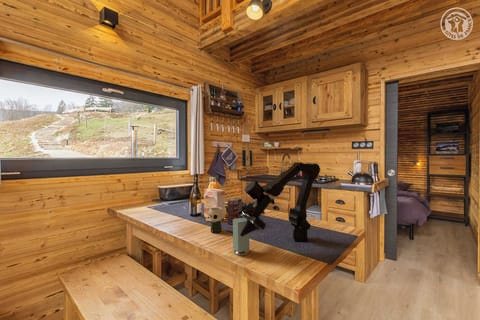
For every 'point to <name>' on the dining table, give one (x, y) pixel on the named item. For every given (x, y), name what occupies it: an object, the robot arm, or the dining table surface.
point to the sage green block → (240, 241)
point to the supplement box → (233, 210)
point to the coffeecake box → (213, 200)
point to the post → (241, 253)
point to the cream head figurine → (216, 218)
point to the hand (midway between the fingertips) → (238, 233)
